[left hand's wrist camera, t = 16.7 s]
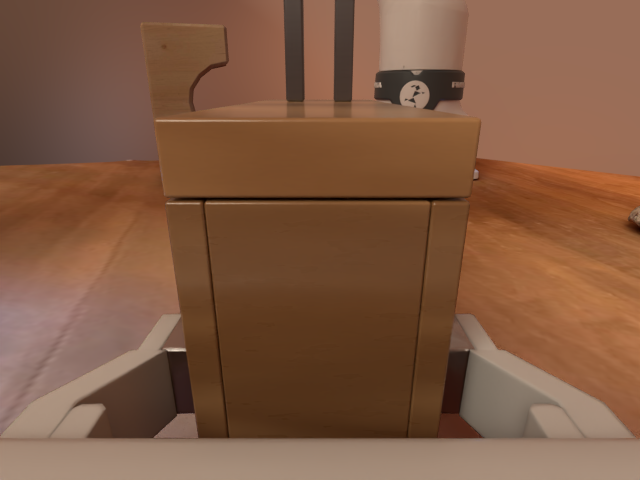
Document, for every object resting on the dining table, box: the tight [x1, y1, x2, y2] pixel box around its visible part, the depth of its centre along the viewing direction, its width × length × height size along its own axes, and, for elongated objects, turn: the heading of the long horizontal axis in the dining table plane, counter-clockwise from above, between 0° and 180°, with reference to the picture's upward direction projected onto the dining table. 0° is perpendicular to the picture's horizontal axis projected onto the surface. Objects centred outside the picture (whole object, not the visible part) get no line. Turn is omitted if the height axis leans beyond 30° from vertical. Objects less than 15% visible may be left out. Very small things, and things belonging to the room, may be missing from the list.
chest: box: [165, 198, 470, 438], centre depth 15 cm, size 14×5×10 cm, turn 0°
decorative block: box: [140, 22, 229, 119], centre depth 58 cm, size 11×6×20 cm, turn 104°
